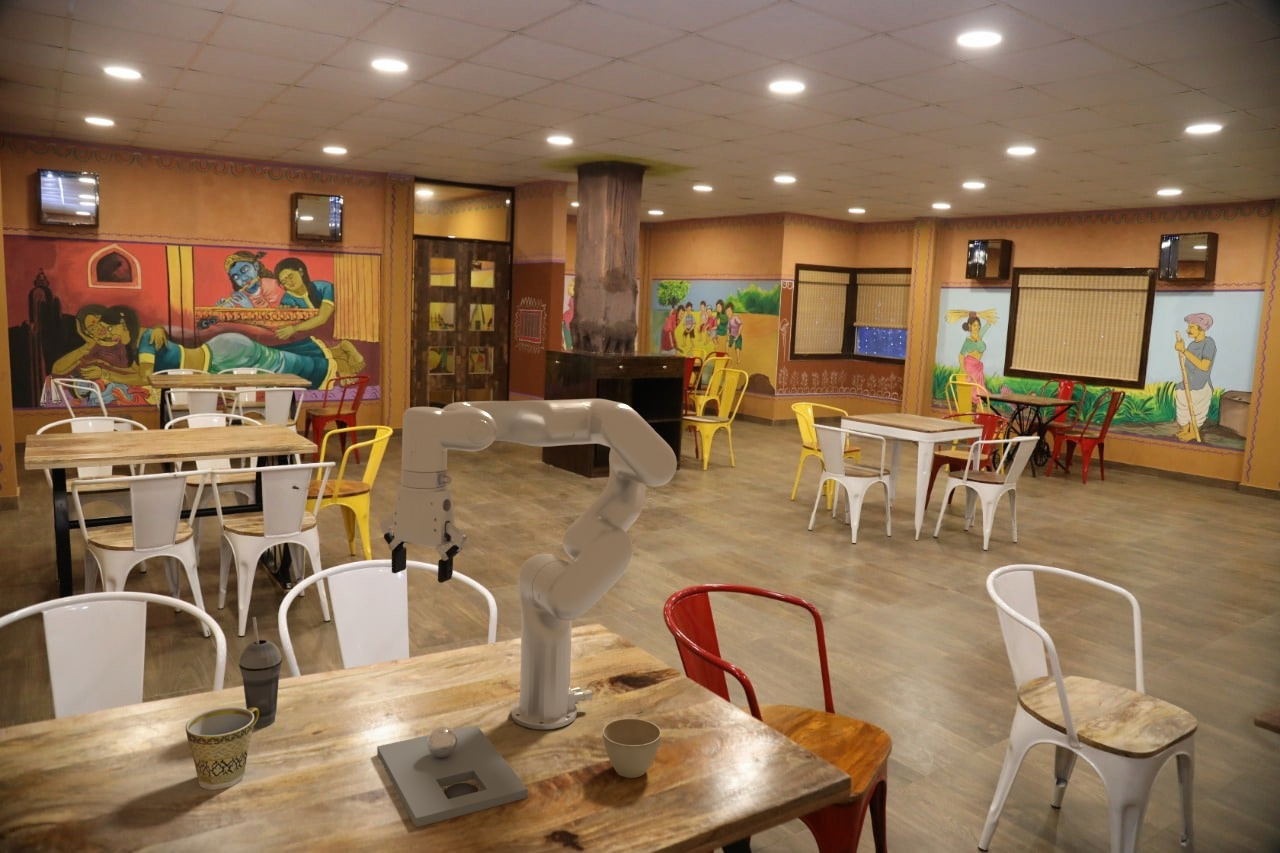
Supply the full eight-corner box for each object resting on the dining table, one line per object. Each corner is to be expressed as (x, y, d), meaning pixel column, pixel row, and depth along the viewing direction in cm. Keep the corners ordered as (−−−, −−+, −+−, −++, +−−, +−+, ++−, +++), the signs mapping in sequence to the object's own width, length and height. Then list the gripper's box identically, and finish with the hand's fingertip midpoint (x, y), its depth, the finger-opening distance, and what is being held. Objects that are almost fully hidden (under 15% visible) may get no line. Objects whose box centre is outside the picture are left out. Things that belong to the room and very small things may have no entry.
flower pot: (666, 762, 152) (668, 723, 151) (648, 791, 142) (650, 750, 141) (613, 751, 155) (615, 713, 154) (592, 778, 146) (593, 738, 145)
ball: (451, 746, 152) (452, 719, 151) (461, 759, 147) (461, 731, 147) (423, 752, 149) (423, 724, 148) (432, 766, 145) (432, 737, 144)
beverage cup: (267, 733, 156) (265, 627, 154) (231, 728, 158) (228, 622, 155) (291, 715, 163) (289, 613, 161) (256, 710, 165) (254, 609, 162)
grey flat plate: (476, 732, 160) (476, 724, 159) (527, 797, 139) (527, 789, 139) (377, 754, 151) (377, 746, 150) (416, 827, 130) (416, 818, 130)
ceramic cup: (221, 801, 135) (219, 741, 133) (172, 787, 138) (170, 728, 137) (282, 762, 147) (281, 706, 146) (236, 750, 150) (235, 695, 149)
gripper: (479, 482, 149) (475, 578, 151) (397, 470, 155) (395, 563, 158) (453, 489, 142) (450, 590, 144) (368, 476, 149) (367, 573, 151)
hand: (421, 575), depth 151 cm, fingers open, 9 cm apart
